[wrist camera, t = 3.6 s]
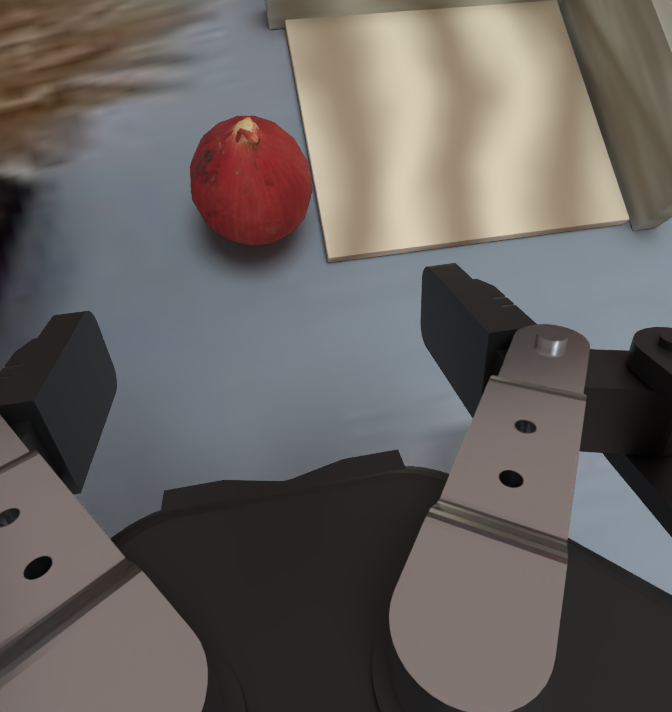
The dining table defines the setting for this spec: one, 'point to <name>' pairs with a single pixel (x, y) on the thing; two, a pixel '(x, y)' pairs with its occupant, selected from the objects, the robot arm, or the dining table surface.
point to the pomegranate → (250, 180)
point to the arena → (481, 117)
